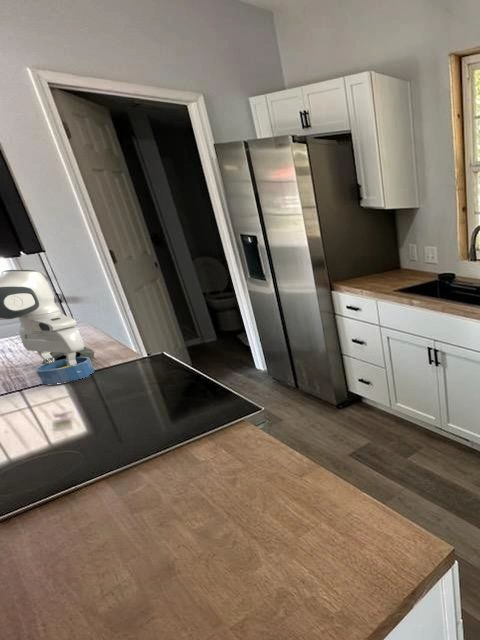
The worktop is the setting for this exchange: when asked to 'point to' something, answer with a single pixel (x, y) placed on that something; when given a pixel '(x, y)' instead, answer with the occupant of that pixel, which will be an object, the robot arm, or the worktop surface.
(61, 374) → the bowl
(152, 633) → the worktop surface
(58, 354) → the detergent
